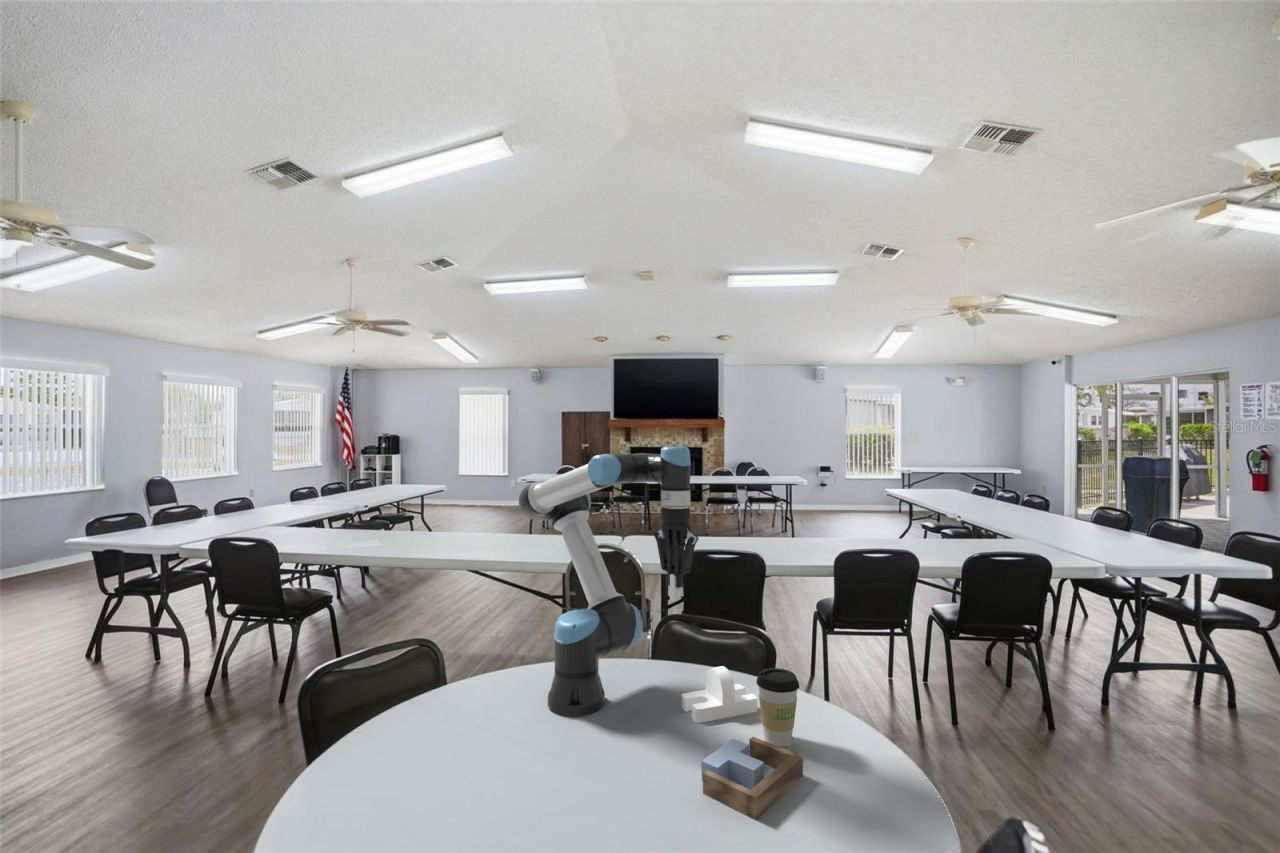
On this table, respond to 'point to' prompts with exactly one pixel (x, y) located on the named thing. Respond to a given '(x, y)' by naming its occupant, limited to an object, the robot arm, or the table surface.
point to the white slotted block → (719, 698)
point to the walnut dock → (763, 792)
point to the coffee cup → (777, 704)
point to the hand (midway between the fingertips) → (675, 599)
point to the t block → (735, 764)
